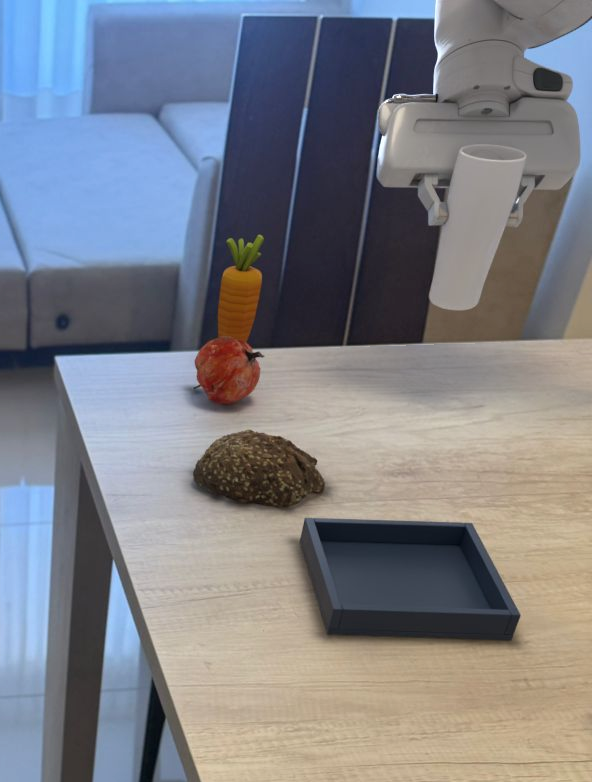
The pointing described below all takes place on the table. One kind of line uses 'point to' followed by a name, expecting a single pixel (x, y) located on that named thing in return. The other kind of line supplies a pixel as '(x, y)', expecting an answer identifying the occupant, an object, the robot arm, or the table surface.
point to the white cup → (474, 223)
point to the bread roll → (258, 470)
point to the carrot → (240, 291)
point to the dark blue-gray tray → (406, 580)
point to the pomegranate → (227, 369)
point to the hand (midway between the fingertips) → (475, 223)
